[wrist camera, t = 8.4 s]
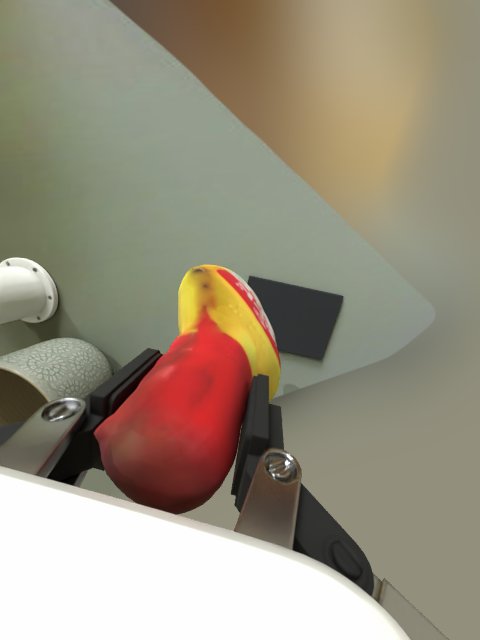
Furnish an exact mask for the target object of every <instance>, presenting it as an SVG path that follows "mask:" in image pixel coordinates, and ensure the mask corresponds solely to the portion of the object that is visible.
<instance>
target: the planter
mask: <svg viewBox="0 0 480 640" xmlns="http://www.w3.org/2000/svg"><path fill="white" fill-rule="evenodd" d="M112 376H113V375H112V370H111V366H110V364H109V362H108V360H107V359H106V357H105V356H104V355H103V353H102V352H101V351H100V350H98V349H97V348H96V347H95V346H93V345H91V344H89V343H87V342H85V341H83V340H79V339H75V338H56V339H52V340H48V341H45V342H41V343H38V344H36V345H33V346H30V347H27V348H25V349H22V350H19V351H16V352H13V353H10V354H7V355H4V356H1V357H0V426H4V425H9V424H13V423H17V422H21V421H25V420H28V419H29V418H30V417H31V416H32V415H33V414H34V413H35V412H36V411H37V410H38V409H39V408H41V407H42V406H43V405H44V404H46V403H48V402H50V401H52V400H55V399H58V398H63V397H78V398H81V399H84V398H85V397H86V396H88V395H89V394H90V393H91V392H92V391H94V390H95V389H96V388H98V387H99V386H100V385H101V384H103V383H104V382H105V381H107V380H108V379H109V378H110V377H112Z"/></svg>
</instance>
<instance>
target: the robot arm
mask: <svg viewBox="0 0 480 640" xmlns="http://www.w3.org/2000/svg"><path fill="white" fill-rule="evenodd" d="M57 305H58V293H57V289H56V286H55V284H54V282H53V280H52V278H51V277H50V275H49V274H48V273H47V272H46V271H45V270H44V269H43V268H42V267H41V266H40V265H38V264H37V263H35V262H33V261H31V260H28V259H25V258H11V259H7V260H5V261H3V262H2V263H1V264H0V324H3V323H7V322H11V321H14V320H18V319H20V320H23V321H26V322H30V323H38V322H41V321H45V320H47V319H49V318H50V317H51V316H52V315H53V314H54V313H55V311H56V309H57ZM162 356H163V354H160V351H159V350H155V349H150V348H148V349H146V350H145V351H144V352H142V353H141V354H140V355H139V356H137V357H136V358H135V359H133V360H132V361H131V362H130V363H128V364H127V365H126V366H124V367H123V368H122V369H121V370H119V371H118V372H117V373H116V374H114V375H113V376H112V377H110V378H109V379H108V380H107V381H105V382H104V383H103V384H101V385H100V386H99V387H98V388H96V389H95V390H94V391H92V392H91V393H90V394H89V395H88V396H86V397H85V398H84V399H81V398H78V397H63V398H58V399H55V400H52V401H50V402H48V403H46V404H44V405H43V406H42V407H41V408H39V409H38V410H37V411H36V412H35V413H34V414H33V415H32V416H31V417H30V418H29V419H28V420H25V421H21V422H17V423H13V424H9V425H4V426H0V640H449V639H448V638H447V637H446V636H445V635H444V634H443V633H442V632H441V631H440V630H438V629H437V628H436V627H435V626H434V625H433V624H432V623H431V622H430V621H429V620H428V619H427V618H426V617H425V616H424V615H423V614H422V613H421V612H420V611H418V609H416V608H415V607H414V606H413V605H412V604H411V603H410V602H409V601H408V600H407V599H406V598H405V597H404V596H403V595H402V594H401V593H400V592H399V591H397V590H396V589H395V588H394V587H393V586H392V585H391V584H390V583H389V582H388V581H387V580H386V579H385V578H384V579H383V580H382V581H381V580H380V579H379V578H378V577H377V576H376V575H375V574H373V572H372V569H371V566H370V563H369V562H368V560H367V558H366V556H365V554H364V553H363V551H362V550H361V549H360V547H359V546H358V545H357V544H356V542H355V541H354V540H353V539H352V538H351V537H350V536H349V535H348V534H347V533H346V532H345V530H344V529H343V528H342V527H341V526H340V525H339V524H338V523H337V522H336V521H335V520H334V519H333V517H332V516H331V515H330V514H329V513H328V512H327V511H326V510H325V509H324V508H323V506H322V505H321V504H320V503H319V502H318V501H317V500H316V499H315V498H314V497H313V496H312V494H311V493H310V492H309V491H308V490H307V489H306V488H305V487H304V486H303V485H302V483H301V477H302V473H301V468H300V465H299V463H298V461H297V460H296V459H295V458H294V457H293V456H292V455H291V454H290V453H289V452H287V451H285V450H284V443H283V430H282V417H281V407H280V406H277V405H272V404H269V376H267V375H262V374H258V376H254V375H253V379H252V383H251V388H250V392H249V397H248V400H247V406H246V412H245V415H244V419H243V422H242V428H241V434H240V440H239V446H238V453H237V459H236V465H235V472H234V478H233V484H232V490H231V495H235V496H236V499H235V506H236V507H237V509H238V511H239V512H240V515H239V518H238V521H237V524H236V527H235V530H234V531H231V530H227V529H224V528H220V527H217V526H213V525H210V524H206V523H203V522H199V521H196V520H192V519H189V518H185V517H182V516H179V515H175V514H172V513H168V512H165V511H161V510H158V509H154V508H151V507H147V506H143V505H140V504H136V503H132V502H129V501H126V500H122V499H118V498H115V497H111V496H107V495H104V494H101V493H97V492H93V491H90V490H86V489H83V488H79V487H80V485H81V483H82V481H83V479H84V478H85V476H86V473H87V470H89V469H91V468H96V469H100V470H103V471H104V470H105V468H104V466H103V463H102V460H101V451H100V447H99V443H98V441H97V439H96V437H95V435H94V432H95V430H96V429H97V428H98V427H99V426H100V425H101V424H102V423H103V422H104V421H105V420H106V419H107V418H108V417H110V416H111V415H113V414H114V413H115V412H116V411H117V410H118V409H119V408H120V406H121V405H122V404H123V403H124V402H125V401H126V399H127V398H128V397H129V396H130V395H131V394H132V393H133V392H134V391H135V390H136V389H137V387H138V385H139V384H140V382H141V381H142V379H143V378H144V377H145V376H146V375H147V374H148V373H149V371H150V370H151V369H152V368H153V367H154V366H155V364H156V363H157V361H158V360H159V359H160V358H161V357H162Z"/></svg>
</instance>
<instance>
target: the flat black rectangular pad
mask: <svg viewBox="0 0 480 640" xmlns="http://www.w3.org/2000/svg"><path fill="white" fill-rule="evenodd" d="M248 286H249V287H250V288H251V289H252V290H253V292H254V293H255V294H256V296H257V298H258V300H259V301H260V304H261V306H262V308H263V310H264V312H265V314H266V316H267V318H268V320H269V322H270V324H271V327H272V329H273V332H274V335H275V341H276V345H277V349H278V350H280V351H284V352H289V353H293V354H297V355H301V356H306V357H310V358H314V359H319V360H322V357H323V354H324V351H325V349H326V346H327V343H328V340H329V337H330V334H331V331H332V328H333V326H334V323H335V320H336V317H337V314H338V311H339V308H340V305H341V303H342V300H343V296H341V295H337V294H332V293H327V292H323V291H318V290H313V289H309V288H304V287H300V286H295V285H290V284H286V283H281V282H277V281H272V280H267V279H263V278H258V277H254V276H249V279H248Z"/></svg>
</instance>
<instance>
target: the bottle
mask: <svg viewBox="0 0 480 640" xmlns="http://www.w3.org/2000/svg"><path fill="white" fill-rule="evenodd" d="M179 331H180V335H179V336H178V337H177V338H176V340H175V341H174V342H173V343H172V345H171V346H170V349H169V351H168V352H167V353H166V354H164V355H163V356H162V357H161V358H160V359H159V360H158V361H157V363H156V364H155V366H154V367H153V368H152V369H151V370H150V371H149V373H148V374H147V375H146V376H145V377H144V378H143V379H142V381H141V382H140V384H139V385H138V387H137V389H136V390H135V391H134V392H133V393H132V394H131V395H130V396H129V397H128V398H127V399H126V401H125V402H124V403H123V404H122V405H121V406H120V408H119V409H118V410H117V411H116V412H115V413H114V414H113V415H111V416H110V417H108V418H107V419H106V420H105V421H104V422H103V423H102V424H101V425H100V426H99V427H98V428H97V429H96V430H95V432H94V435H95V437H96V439H97V441H98V443H99V447H100V451H101V460H102V463H103V466H104V468H105V471H106V473H107V475H108V476H109V477H110V479H111V480H112V481H113V482H114V484H115V485H116V486H117V487H118V488H119V489H120V490H121V491H122V492H123V493H124V494H125V495H126V496H127V497H129V498H130V499H131V500H133V501H134V502H136V503H137V504H140V505H143V506H147V507H151V508H154V509H158V510H161V511H165V512H168V513H172V514H175V515H177V514H181V513H185V512H188V511H191V510H193V509H195V508H197V507H199V506H201V505H203V504H204V503H205V502H206V501H208V500H209V499H210V498H211V497H212V496H213V494H214V493H215V492H216V491H217V490H218V489H219V488H220V486H221V485H222V483H223V481H224V480H225V478H226V476H227V475H228V472H229V471H230V469H231V467H232V465H233V463H234V460H235V456H236V454H237V449H238V443H239V437H240V430H241V425H242V422H243V419H244V415H245V412H246V406H247V400H248V397H249V392H250V388H251V383H252V379H253V375H254V376H258V374H262V375H267V376H269V402H270V401H271V400H272V398H273V397H274V395H275V393H276V392H277V389H278V386H279V380H280V373H281V367H280V358H279V353H278V349H277V345H276V341H275V335H274V332H273V329H272V327H271V324H270V322H269V320H268V318H267V316H266V314H265V312H264V310H263V308H262V306H261V304H260V301H259V300H258V298H257V296H256V294H255V293H254V292H253V290H252V289H251V288H250V287H249V286H248V284H247V283H246V282H245V281H244V280H243V279H242V278H240V277H239V276H238V275H237V274H235V273H234V272H233V271H231V270H229V269H226V268H224V267H220V266H215V265H201V266H197V267H194V268H192V269H190V270H189V271H188V272H187V273H186V275H185V276H184V278H183V281H182V283H181V285H180V288H179Z"/></svg>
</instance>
